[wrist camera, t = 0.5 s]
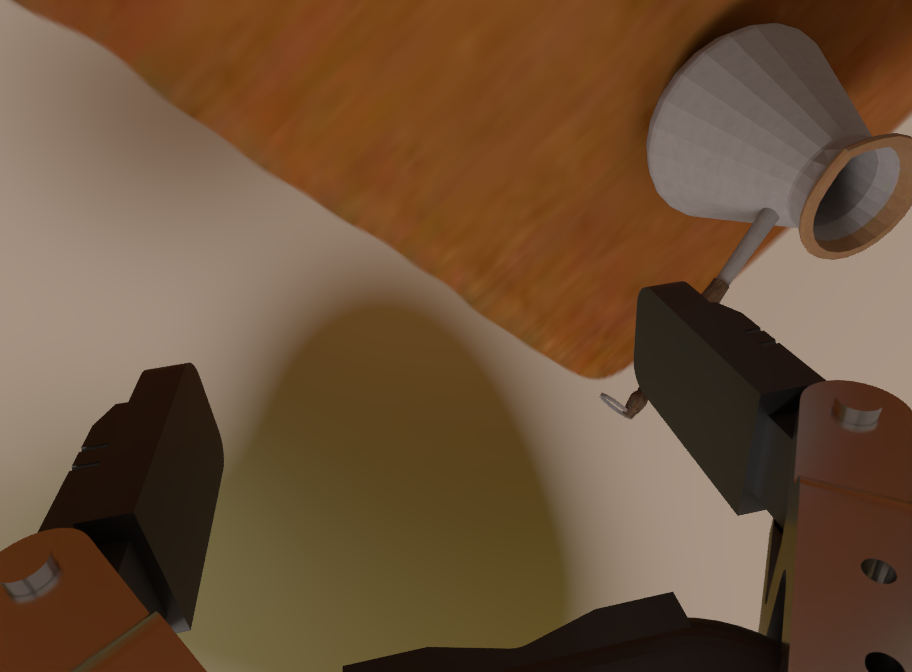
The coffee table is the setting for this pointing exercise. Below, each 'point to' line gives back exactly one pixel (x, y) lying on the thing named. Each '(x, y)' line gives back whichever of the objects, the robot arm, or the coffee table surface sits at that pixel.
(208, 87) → the coffee table surface
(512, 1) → the coffee table surface
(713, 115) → the coffee pot
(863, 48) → the coffee table surface
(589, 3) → the coffee table surface
